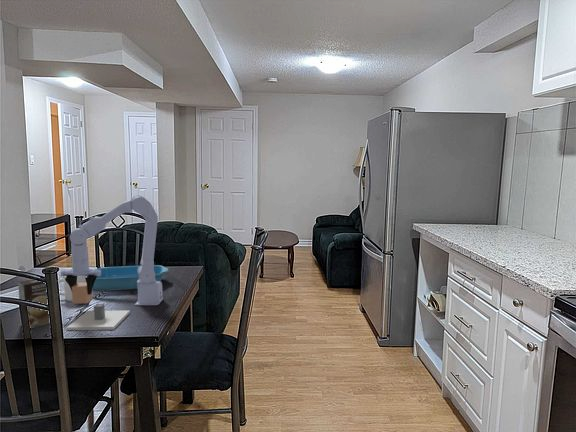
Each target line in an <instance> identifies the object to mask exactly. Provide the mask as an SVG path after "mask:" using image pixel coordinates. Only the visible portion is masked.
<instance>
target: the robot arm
mask: <svg viewBox="0 0 576 432" xmlns="http://www.w3.org/2000/svg"><path fill="white" fill-rule="evenodd" d="M133 212H136V213H137V214H139V215H141V217H142V218H143V219H144V220H145V222H144V231H143V232H144V233H143V242H142V249H141V250H142V252H141V259H140V263H139V265H138V266H139V267H138V269H137V273H138V275H139V280H138V281H137V287H138V289H137V301H136V303H134V306H158V305H160V303H161V302H162V301H163V300H164V298H163V297H164V296H163V295H164V294H163V283H162V281H161V282H160V281H156V279H155V272H154V265H155V261H154V259H155V250H156V249H155V248H156V239H157V230H158V221H159V220H158V219H159V216H158V214H157V212H156V210H155V209H154V207H153V205H152V203H151V202H150V201H148V199H147V198H145V197H144V196H143V195H139V194H138V195H135V196H133V197H132V198H129V199H126V200H125V201H123V202H121V203H120V204H118V205H117V206H115V207H114V208H112V209H111V210H109V211H108V212H107V213H105V214H104V215H102V216H94V217H93V216H91V217H89V220H87V221H86V222H85V223H82V224H79V225H78V226H77V227H78V228H73V230H72V231H71V232H70V234H69V240H70V254H71V255H70V256H71V268H72V269H66V270H64V269H63V270H61V271H60V277H63V276H66V278H65V281H66V282H67V283H68V284H69V286H70V288H71V291H72V286H74V285H76V284H77V276H86V278H85V280H86V283H87V291H88V295H90V294H91V293H92V294H93V289H94V288H93V285H94V282H95V280H96V278H97V276H100V275H101V270H95V269H92V268H90V263H89V260H90V259H89V248H88V245H87V244H88V243H87V240H88V239H90V238H93V237H94V236H96V235H97V234H99V233H100V232H101V231H103V230H105V229H106V227H107V226H106V225H107V224H108V223H109V222H111V221H113V220H115V219H117V218H119V217H120V216H122V215H123V214H125V213H126V214H129V213H131V214H132V213H133ZM87 276H88V277H87Z"/></svg>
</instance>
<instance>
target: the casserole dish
mask: <svg viewBox="0 0 576 432" xmlns="http://www.w3.org/2000/svg"><path fill="white" fill-rule="evenodd" d="M139 266H140V265H125V266H124V265H122V266H106V267H99V268H95V269H94V270H101V275H100V276H97V278H96V280H95V282H94V285H93V289H94V290H96V291H100V292H101V291H105V292H106V291H107V292H108V291H123V290H138V287H137V281H138V280H139V275H138V273H137V269H138V267H139ZM154 272H155V279H156V281H160V282H162V278H163V275H164V274H167V273H168V272H169V268H168V267H165V266H163V265H159V264H157V265H156V264H154ZM86 277H88V276H86Z"/></svg>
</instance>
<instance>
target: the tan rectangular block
mask: <svg viewBox="0 0 576 432" xmlns="http://www.w3.org/2000/svg"><path fill="white" fill-rule="evenodd" d="M72 297H73V301H72V304H89V302H91V301H92V300H93V299H94V297H93V292H92V293H91V294H90V295H88V291H87V283H77V284H76V285H74V286H72Z"/></svg>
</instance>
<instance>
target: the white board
mask: <svg viewBox="0 0 576 432" xmlns="http://www.w3.org/2000/svg"><path fill="white" fill-rule="evenodd" d="M93 309H94V310H87V311H85V313H83V314H82V315H81V316H80V317H78V318H77V319H75V320H74V321H73V322H72V323H70V324H69V325H68V326H66V331H102V330H103V331H104V330H106V331H107V330H108V331H110V330H112V331H113V330H114V329H116V328H117V327H118V326H119V325H120V324H121V323H122V322H123V320H125V319H126V318H127V316H129V314H131V311H130V310H105V309H106V308H105V303H96V304H95V305H94V306H93Z"/></svg>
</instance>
